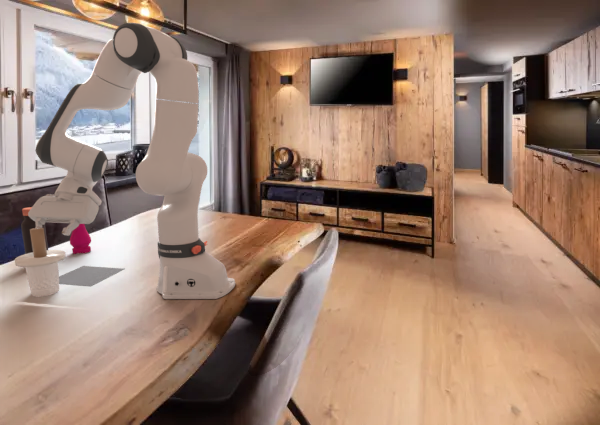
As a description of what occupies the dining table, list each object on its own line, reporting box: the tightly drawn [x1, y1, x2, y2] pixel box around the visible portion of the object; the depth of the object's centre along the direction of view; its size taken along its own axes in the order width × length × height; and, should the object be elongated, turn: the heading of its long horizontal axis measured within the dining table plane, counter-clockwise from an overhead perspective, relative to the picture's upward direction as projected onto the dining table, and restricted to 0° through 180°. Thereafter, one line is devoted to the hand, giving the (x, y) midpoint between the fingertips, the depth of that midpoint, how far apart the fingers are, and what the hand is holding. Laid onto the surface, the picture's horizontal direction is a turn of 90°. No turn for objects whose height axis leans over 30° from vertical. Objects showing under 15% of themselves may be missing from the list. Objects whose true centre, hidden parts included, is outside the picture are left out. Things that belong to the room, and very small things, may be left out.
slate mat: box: [59, 265, 125, 287], centre depth 129 cm, size 16×16×1 cm
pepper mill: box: [69, 224, 92, 255], centre depth 155 cm, size 7×7×20 cm
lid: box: [14, 228, 66, 268], centre depth 113 cm, size 12×12×9 cm
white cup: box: [24, 262, 60, 298], centre depth 115 cm, size 8×8×10 cm
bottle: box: [20, 206, 49, 254], centre depth 140 cm, size 7×7×20 cm
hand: (51, 233), depth 117 cm, fingers open, 8 cm apart
